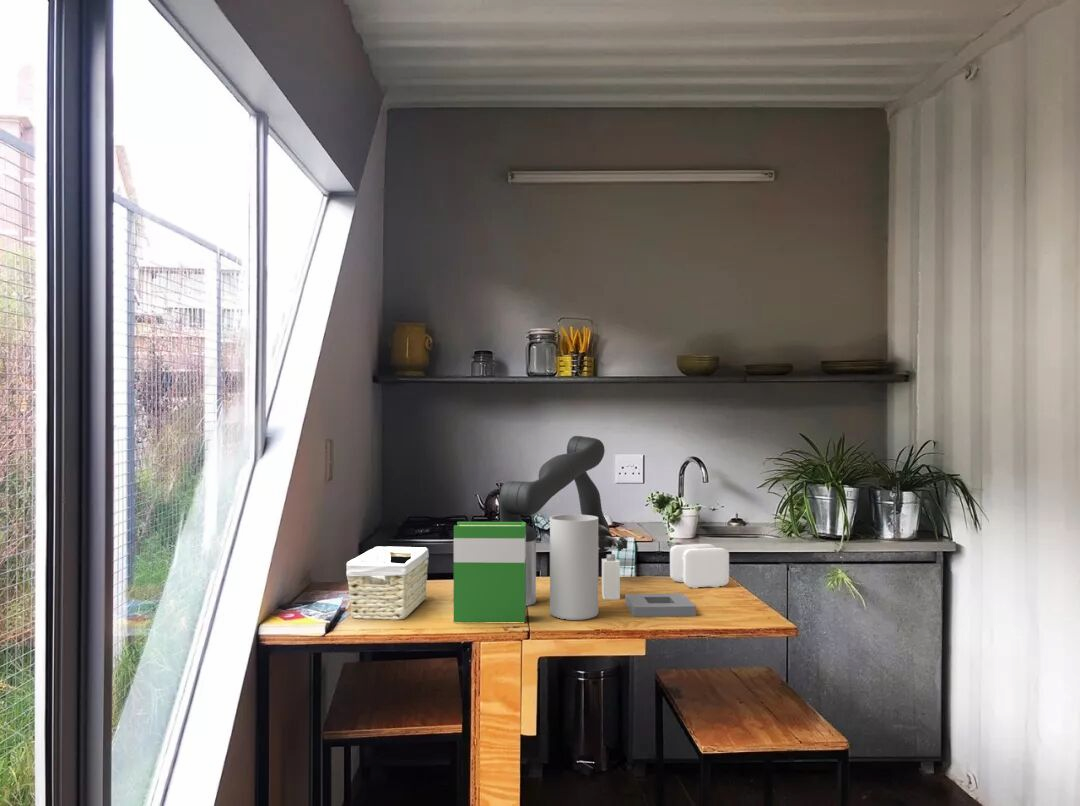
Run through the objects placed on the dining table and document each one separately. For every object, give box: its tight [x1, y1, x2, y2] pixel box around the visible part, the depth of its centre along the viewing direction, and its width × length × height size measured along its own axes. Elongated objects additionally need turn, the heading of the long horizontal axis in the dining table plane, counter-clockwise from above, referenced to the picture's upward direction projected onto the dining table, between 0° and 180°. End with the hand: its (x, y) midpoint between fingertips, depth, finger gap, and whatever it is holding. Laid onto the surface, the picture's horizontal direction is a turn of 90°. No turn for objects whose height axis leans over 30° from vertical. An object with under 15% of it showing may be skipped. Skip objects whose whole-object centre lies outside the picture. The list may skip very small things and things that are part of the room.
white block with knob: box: [601, 553, 621, 600], centre depth 215 cm, size 4×4×12 cm
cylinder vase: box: [549, 514, 599, 621], centre depth 197 cm, size 12×12×25 cm
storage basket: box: [345, 546, 430, 621], centre depth 203 cm, size 24×16×15 cm
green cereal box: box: [453, 521, 527, 623], centre depth 193 cm, size 18×7×24 cm, turn 88°
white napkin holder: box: [669, 543, 730, 589], centre depth 232 cm, size 15×11×12 cm
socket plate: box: [624, 593, 697, 618], centre depth 202 cm, size 16×14×2 cm
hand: (606, 547), depth 227 cm, fingers open, 8 cm apart
